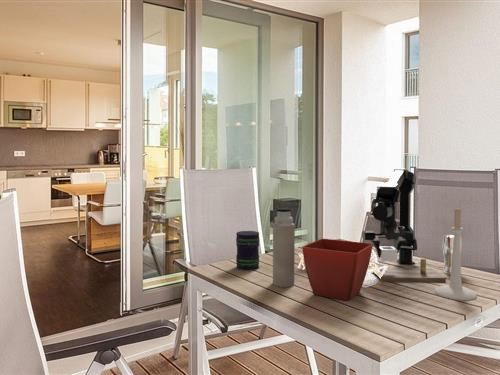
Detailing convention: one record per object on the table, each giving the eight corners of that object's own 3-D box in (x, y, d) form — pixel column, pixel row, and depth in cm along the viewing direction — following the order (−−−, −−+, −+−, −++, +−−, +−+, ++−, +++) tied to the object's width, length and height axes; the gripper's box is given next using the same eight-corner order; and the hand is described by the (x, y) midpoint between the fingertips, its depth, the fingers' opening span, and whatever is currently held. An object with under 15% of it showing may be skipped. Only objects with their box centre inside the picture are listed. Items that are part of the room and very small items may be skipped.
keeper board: (372, 271, 180) (372, 255, 179) (431, 272, 179) (431, 255, 178) (381, 281, 166) (381, 263, 165) (445, 281, 165) (446, 263, 165)
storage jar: (231, 267, 187) (231, 232, 186) (248, 263, 194) (248, 230, 193) (247, 271, 180) (246, 235, 179) (264, 267, 187) (264, 232, 186)
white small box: (377, 257, 175) (377, 246, 175) (392, 257, 175) (392, 246, 175) (381, 261, 169) (381, 249, 169) (397, 261, 169) (397, 249, 169)
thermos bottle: (281, 279, 168) (282, 206, 166) (298, 283, 163) (299, 208, 161) (268, 283, 162) (268, 208, 161) (285, 288, 157) (285, 210, 155)
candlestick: (478, 292, 152) (481, 206, 150) (473, 302, 141) (476, 209, 139) (439, 286, 159) (441, 204, 157) (431, 295, 148) (433, 207, 146)
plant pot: (372, 290, 155) (373, 243, 153) (356, 306, 138) (357, 253, 137) (321, 282, 164) (322, 238, 163) (300, 296, 148) (300, 246, 147)
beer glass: (457, 270, 182) (458, 234, 181) (463, 274, 175) (464, 237, 174) (439, 270, 183) (440, 234, 182) (445, 274, 176) (446, 237, 175)
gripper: (368, 220, 163) (368, 262, 164) (419, 220, 163) (418, 262, 164) (362, 216, 174) (361, 255, 175) (409, 216, 174) (408, 255, 175)
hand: (387, 257), depth 172 cm, fingers closed on white small box, 6 cm apart
